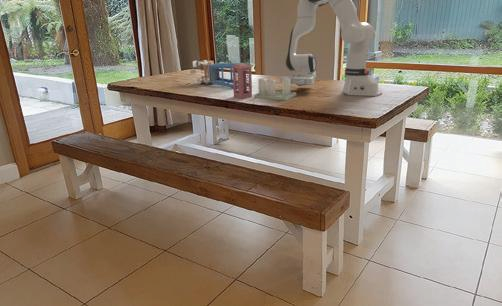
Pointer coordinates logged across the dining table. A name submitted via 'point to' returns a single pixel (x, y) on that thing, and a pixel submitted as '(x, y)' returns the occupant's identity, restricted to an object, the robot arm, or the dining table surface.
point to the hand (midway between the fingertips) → (291, 82)
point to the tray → (276, 96)
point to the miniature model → (242, 81)
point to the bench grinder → (214, 72)
